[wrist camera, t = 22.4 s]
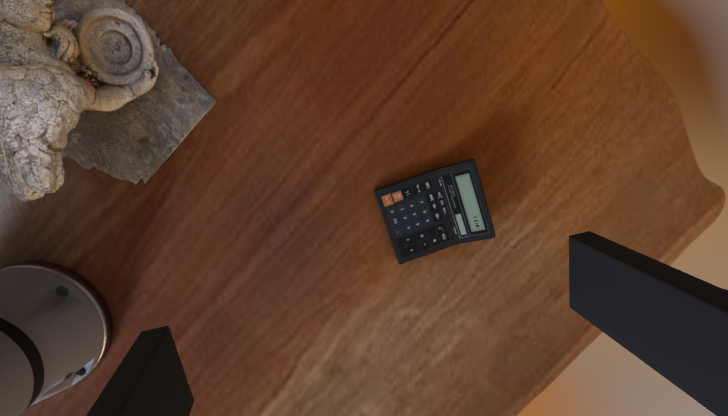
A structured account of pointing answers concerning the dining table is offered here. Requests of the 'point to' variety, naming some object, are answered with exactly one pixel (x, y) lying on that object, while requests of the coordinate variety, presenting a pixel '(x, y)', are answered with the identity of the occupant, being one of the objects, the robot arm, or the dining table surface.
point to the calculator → (435, 210)
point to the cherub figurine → (88, 94)
